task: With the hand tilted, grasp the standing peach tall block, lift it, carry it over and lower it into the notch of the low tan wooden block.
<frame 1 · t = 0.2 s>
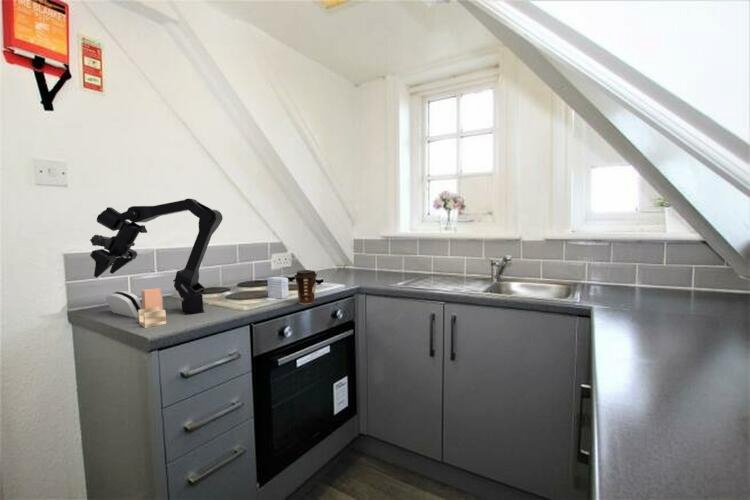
hand: (103, 274, 129), 15 cm above the countertop, tool tilted 30°, fingers open, 9 cm apart
white dark-banded wedge: (127, 315, 131), on the countertop
coffee cup: (307, 303, 145), on the countertop
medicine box: (278, 298, 156), on the countertop
peach tall block: (153, 318, 125), on the countertop
tan wooden block: (152, 323, 118), on the countertop
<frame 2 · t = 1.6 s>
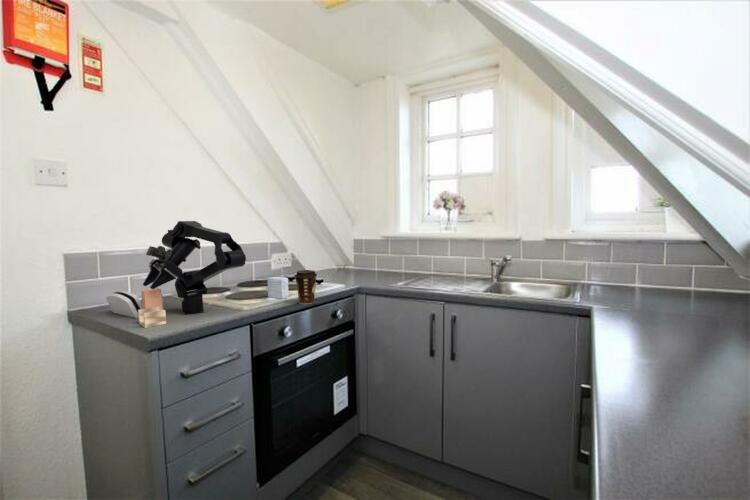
hand: (147, 286, 124), 11 cm above the countertop, tool tilted 45°, fingers open, 9 cm apart
nothing on the countertop moved.
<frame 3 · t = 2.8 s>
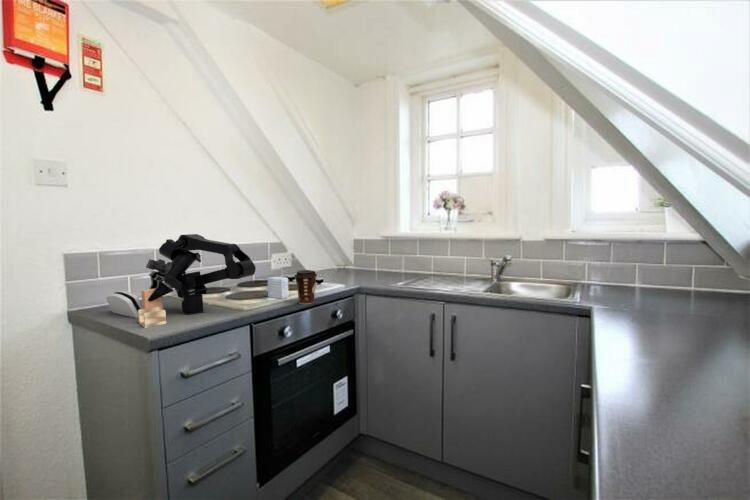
hand: (147, 300, 124), 7 cm above the countertop, tool tilted 45°, fingers closed on peach tall block, 4 cm apart
peach tall block: (153, 317, 125), on the countertop, touching gripper
everything else where it was.
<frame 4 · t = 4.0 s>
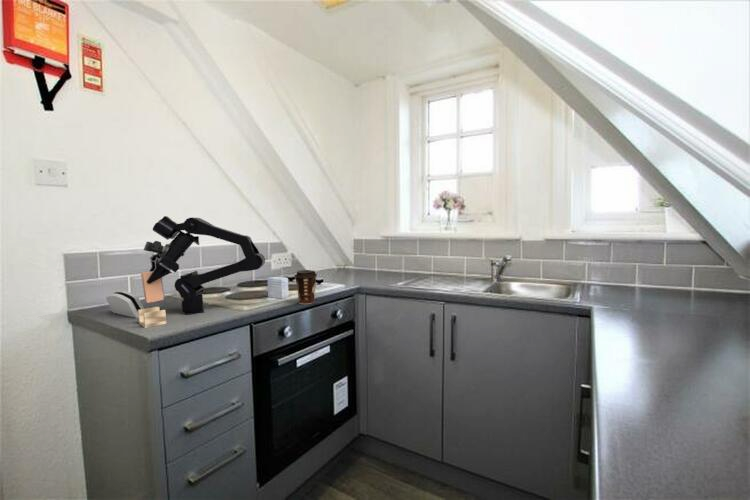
hand: (146, 282, 123), 13 cm above the countertop, tool tilted 40°, fingers closed on peach tall block, 4 cm apart
peach tall block: (154, 300, 125), point 6 cm above the countertop, touching gripper
everything else where it was.
when the fingers open (9 cm above the countertop, at t = 5.6 s): peach tall block stays where it is, resting on tan wooden block.
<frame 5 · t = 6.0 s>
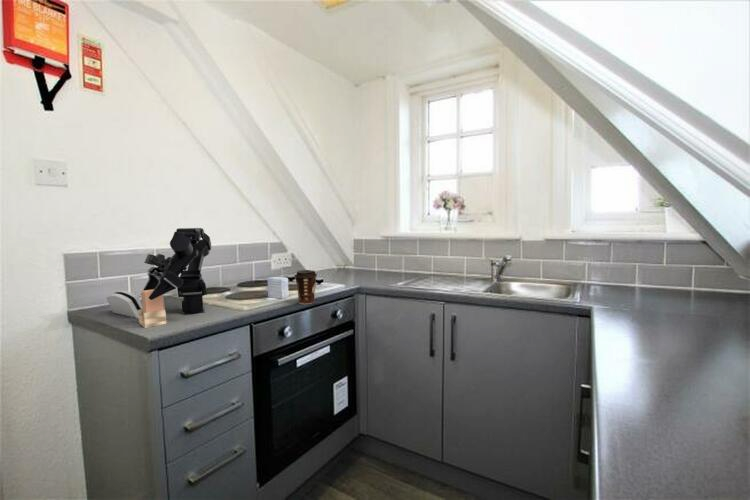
hand: (145, 297, 117), 9 cm above the countertop, tool tilted 45°, fingers open, 8 cm apart
peach tall block: (153, 320, 119), point 1 cm above the countertop, touching tan wooden block
everything else where it was.
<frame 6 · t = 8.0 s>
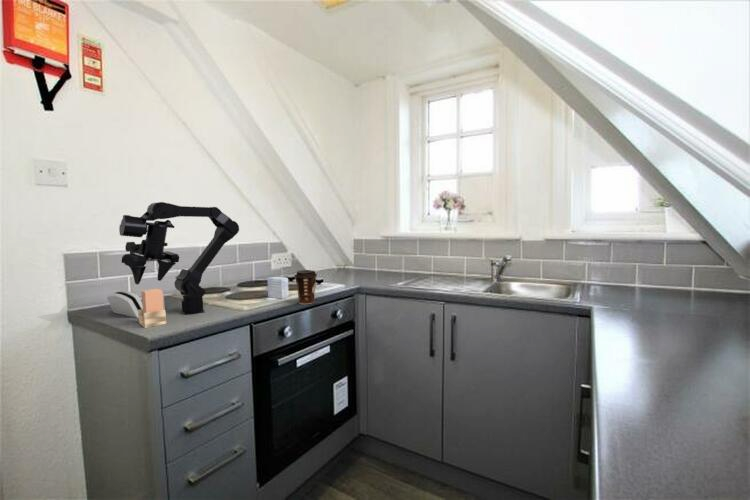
hand: (148, 282, 124), 13 cm above the countertop, tool pointing down, fingers open, 9 cm apart
nothing on the countertop moved.
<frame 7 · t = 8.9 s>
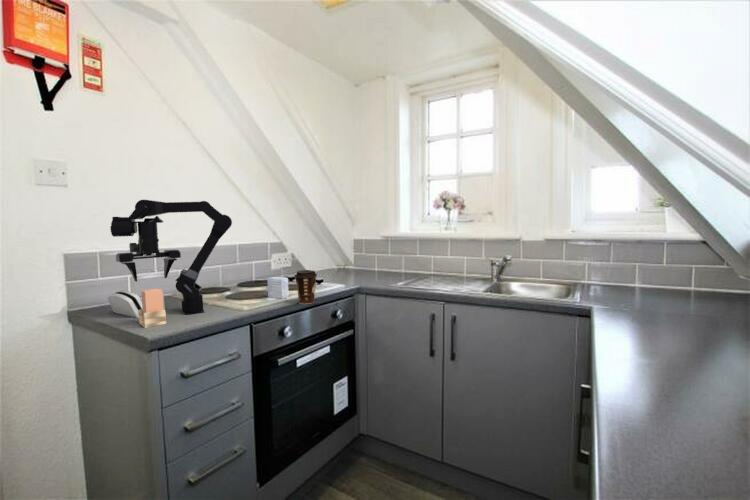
hand: (151, 279, 127), 13 cm above the countertop, tool pointing down, fingers open, 9 cm apart
nothing on the countertop moved.
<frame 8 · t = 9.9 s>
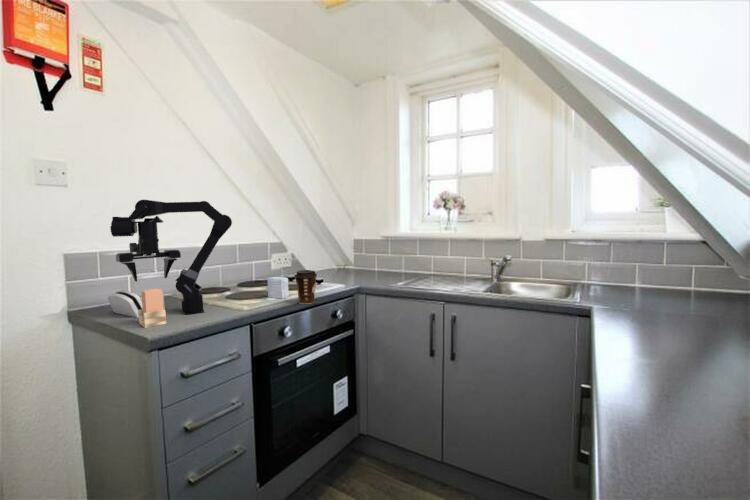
hand: (151, 279, 127), 13 cm above the countertop, tool pointing down, fingers open, 9 cm apart
nothing on the countertop moved.
at the end: peach tall block 0.4 cm off-centre on the tan wooden block, point 1.0 cm above the tan wooden block's base; peach tall block tilted 0°; the gripper is holding nothing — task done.
